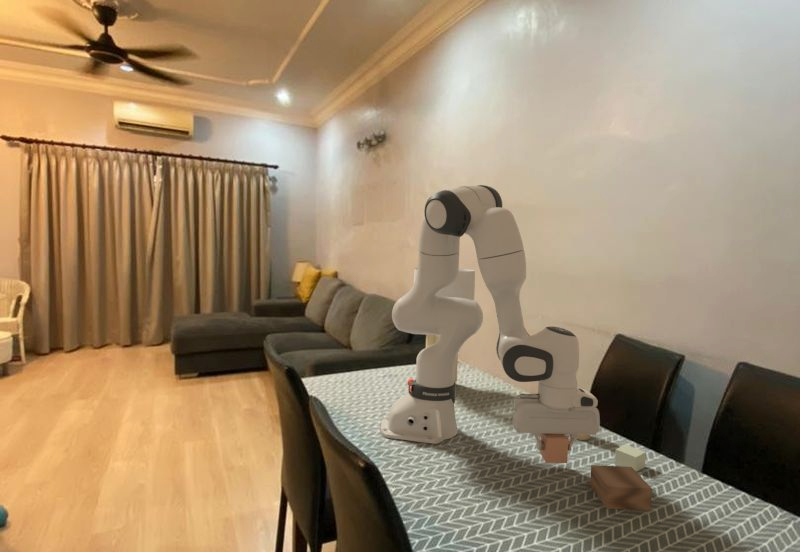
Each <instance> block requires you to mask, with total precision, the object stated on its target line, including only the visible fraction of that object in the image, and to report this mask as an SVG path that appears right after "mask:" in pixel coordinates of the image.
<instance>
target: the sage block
mask: <svg viewBox="0 0 800 552" xmlns="http://www.w3.org/2000/svg"><path fill="white" fill-rule="evenodd" d="M646 454H647V452H646V451H645V450H642V449H639V448H636V447H633V446H631V445H629V444H624V445H622V446H620V447H618V448H616V449H615V454H614V465H615V466H624V467H632V468H633V469H634V470H635V471H636V472H637V473H638V471H640V470H642V469H644V468H645V467H646V456H647V455H646Z"/></svg>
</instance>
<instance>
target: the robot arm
mask: <svg viewBox="0 0 800 552" xmlns="http://www.w3.org/2000/svg"><path fill="white" fill-rule="evenodd" d="M423 213H424V216H423V217H422V221H421V224H420V225H421V226H420V231H419V242H418V260H417V261H418V265H417V268H418V272H417V277H416V280H415V283H414V282H413V285H412V286H411V287H410V289H409V290H408V291H407V292H406V293H405V294H404V295H403V296H401V297H399V298H398V299H397V300H396V302H395V303H394V305H393V307H392V310H391V320H392V322H393V325H394V327H395V328H396V329H397V330H398V331H400V332H403V333H408V334H412V335H425V336H426V335H436V329H437V335H438V336H439V337H440V338H439V340H438V342H436V343H435V344H433V345H431V346H429V347H426V346H425V348H423V349H421V350H420V351H419V353H418V354H417V356H416V366H415V367H416V368H415V379H413V378H411V377H410V378H408V380H407V386H408V393H406V394H405V395H403V396H402V397H401V398H399V399H398V400H396V401H395V402H394V403H392V406H391V407H390V410H389V412H388V416H385V417H384V418H383V419H382V421H381V423H380V430H379V431H380V434H381V435H382V436H383V437H384V438H386V439H387V438H389V439H395V440H402V441H403V440H404V441H410V442H417V443H418V442H419V443H426V444H433V445H437V444H439V443H441V442H442V441H446V440H448V439H451V438H454V437H455V436H456V435H458V433H459V428H458V424H457V419H456V412H455V411H456V409H455V402H456V397H457V394H456V393H457V387H456V382H454V375H455V364H456V358H457V355H458V356H459V352H460V350H461V349H462V347H463V346H464V344H465V342H466V341H467V340H469V339H470V338H471V337H472V336H474V335H475V334H477V333H478V331H479V330H480V329H481V328H482V325H483V322H484V313H483V309H482V308H481V305H480V304H479V303H478V302H477V301H476V300H474V301H473V300H469V299H465V298H460V297H438V306H437V296H435V294H436V293H437V292H438V291H439V290H441V289H443V288H445V287H448V286H450V285H451V284H452V283H454V282H455V281H456V279H457V277H458V272H459V268H460V266H459V265H460V245H461V243H460V241H461V237H463V235H464V234H465V235H467V236H469V237H470V238H471V239H472V241H473V244H474V247H475V248H474V249H475V252H476V253H475V255H476V258H477V259H476V260H477V264H478V268H479V271H480V273H481V278H482V279H483V282H484V285H485V287H486V289H487V290H488V292H489V293H490V294H491V297H492V299H493V303H494V305H495V311H496V317H497V323H498V328H499V329H498V331H499V334H498V339H497V342H496V348H495V350H496V355H497V357H498V359H499V361H500V363H501V366H502V368H503V371H504V373H505V374H506V376H507V377H509V378H510V379H511V380H513V381H516V382H520V383H529V382H538V386H537V387H538V388H537V393H520V394H518V395H516V396H515V397H514V398H513V400H512V401H513V403H512V405H513V415H512V427H513V428H514V430H515V431H516V432H517V433H520V434H521V433H522V434H532V436H534V438H535V441H536V449H537V450H538V451H540V450H545V448H544V447H545V443H544V442H543V441H542V440H540V439H541V433H548V434H565V435H569V436H568V437H567V438H568V439H569V442H568V452H571V451H572V447H573V446H572V445H573V444H574V443H575V442H576V440H578V439H577V434H586V435H590V436H591V435H593V436H595V435H597V434H598V432H599V431H600V429H601V428H600V424H601V419H600V410H599V409H598V408H597V407H598V402H599V401H598V399H597V397H596V396H595V395H593V393H591V392H590V391H588V390H587V389H585V388H582V387H579V386H578V385H579V384H578V379H577V374H578V370H579V367H580V344H579V339H578V337H577V336H576V334H574V333H573V332H572V331H571V330H568V329H566V328H563V327H558V326H546V327H545V328H543V329H542V330H541V331H539V332H537V333H535V334H532V335H530V334H529V333H528V332H527V329H526V327H525V323H524V319H523V313H522V307H521V300H520V293H521V290H522V286H523V285H524V283H525V281H526V278H527V262H526V261H527V260H526V253H525V249H524V248H525V247H524V243H523V240H522V237H521V232H520V230H519V227H518V224H517V221H516V219H515V216H514V214H513V213H512V211H510V210H509V209H507V208H505V207H503V200H502V197H501V195H500V193H499V191H498V190H496V189H495V188H493V187H491V186H488V185H483V184H479V185H463V186H459V187H455V188H450V189H444V190H441V191H437V192H435V193H434V194H432V195H430V197H428V199H427V201H426V203H425V205H424V212H423Z"/></svg>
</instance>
